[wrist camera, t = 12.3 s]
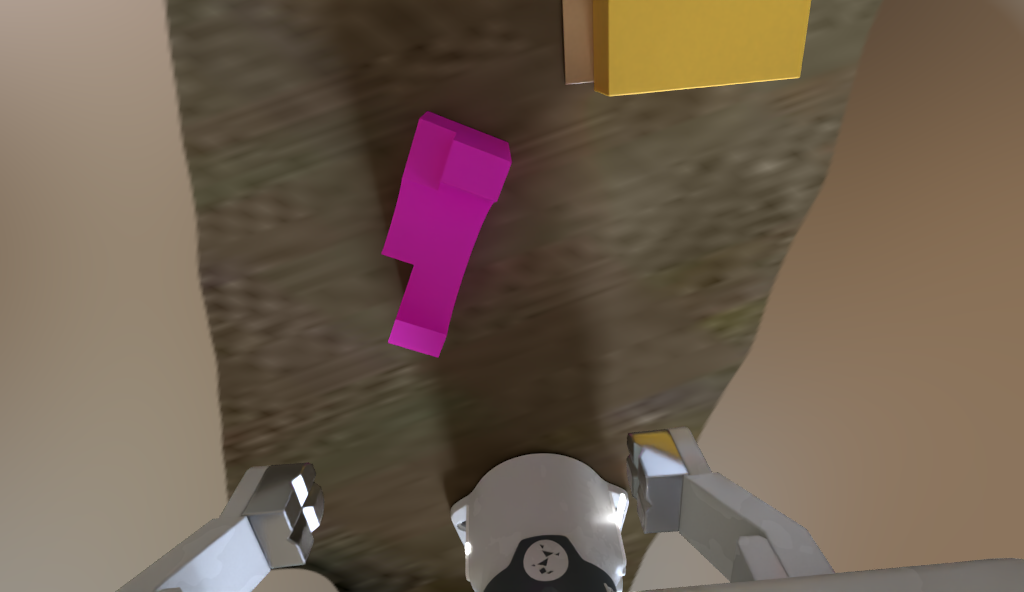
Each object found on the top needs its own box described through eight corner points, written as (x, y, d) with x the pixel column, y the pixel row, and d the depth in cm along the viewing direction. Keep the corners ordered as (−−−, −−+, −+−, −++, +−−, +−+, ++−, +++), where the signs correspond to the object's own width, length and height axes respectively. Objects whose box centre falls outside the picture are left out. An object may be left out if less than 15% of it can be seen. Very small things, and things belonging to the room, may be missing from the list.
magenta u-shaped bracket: (427, 110, 37) (412, 124, 30) (508, 142, 38) (511, 162, 31) (375, 287, 43) (353, 332, 36) (446, 310, 44) (438, 357, 37)
